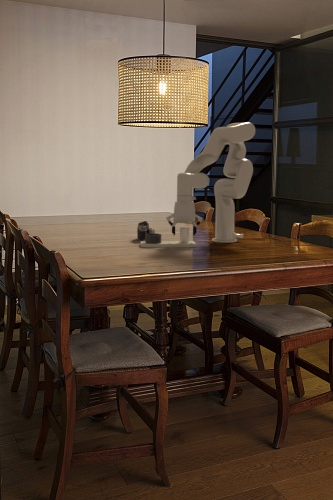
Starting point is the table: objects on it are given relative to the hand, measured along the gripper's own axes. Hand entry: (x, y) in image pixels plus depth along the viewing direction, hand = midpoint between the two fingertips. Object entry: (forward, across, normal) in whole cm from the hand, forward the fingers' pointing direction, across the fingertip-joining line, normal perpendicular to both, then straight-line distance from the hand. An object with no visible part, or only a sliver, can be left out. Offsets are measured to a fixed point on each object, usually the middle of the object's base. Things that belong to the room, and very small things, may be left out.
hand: (184, 235), depth 273 cm
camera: (+5, +17, -21) cm, 27 cm away
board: (+5, +8, 0) cm, 9 cm away
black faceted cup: (+4, +15, 0) cm, 15 cm away
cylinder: (+4, 0, 0) cm, 4 cm away
